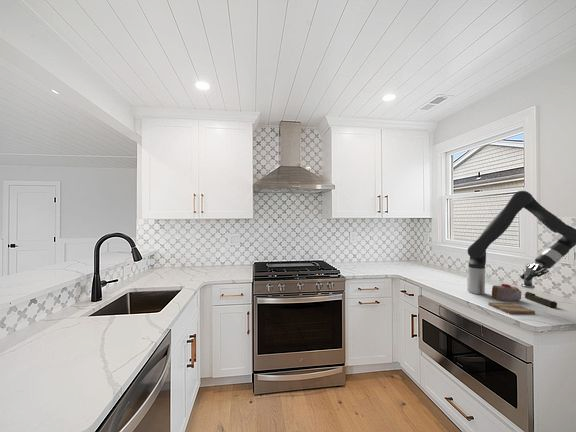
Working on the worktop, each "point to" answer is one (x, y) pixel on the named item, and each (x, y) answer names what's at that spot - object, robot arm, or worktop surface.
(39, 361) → the worktop surface
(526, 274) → the round metal knob
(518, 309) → the walnut board
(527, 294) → the hand tool
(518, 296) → the food item
